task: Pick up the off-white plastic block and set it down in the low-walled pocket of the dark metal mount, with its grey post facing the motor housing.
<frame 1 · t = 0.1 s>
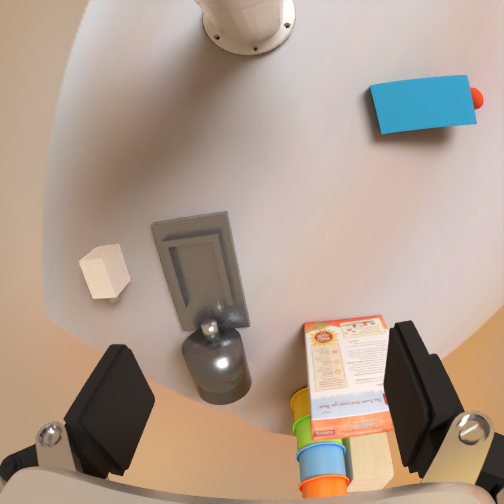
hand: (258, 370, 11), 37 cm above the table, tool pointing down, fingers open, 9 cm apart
stacking cups: (314, 399, 62), on the table
toy refrigerator: (355, 403, 62), on the table
cracker box: (343, 330, 54), on the table
blue ramp: (427, 102, 38), on the table
block: (113, 263, 52), on the table
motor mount: (200, 264, 51), on the table
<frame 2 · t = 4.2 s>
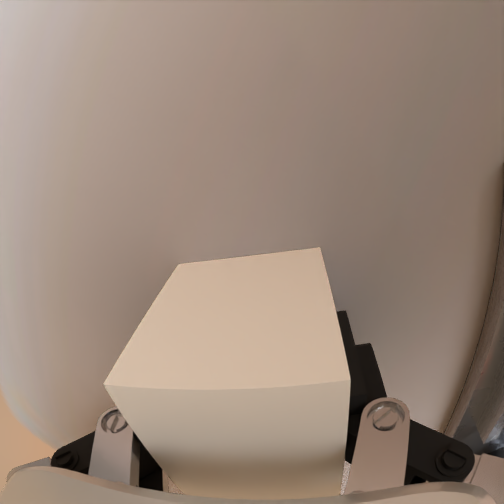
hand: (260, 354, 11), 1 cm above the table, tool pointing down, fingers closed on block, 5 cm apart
block: (262, 336, 12), on the table, touching gripper
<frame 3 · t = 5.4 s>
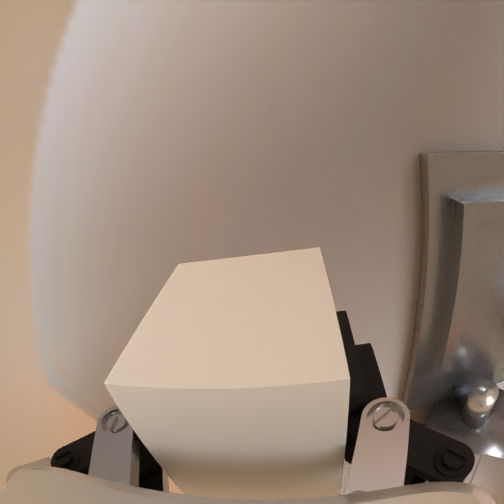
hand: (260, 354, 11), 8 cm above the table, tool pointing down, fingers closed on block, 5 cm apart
block: (262, 336, 12), point 7 cm above the table, touching gripper
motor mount: (490, 267, 18), on the table
when the fingers open (4 cm above the table, at t = 10.1 s): block drops 2 cm, resting on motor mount.
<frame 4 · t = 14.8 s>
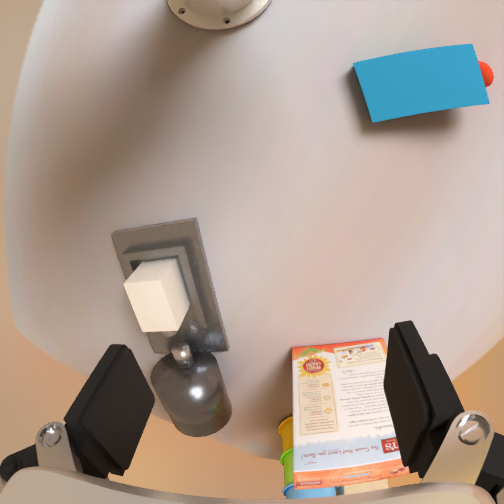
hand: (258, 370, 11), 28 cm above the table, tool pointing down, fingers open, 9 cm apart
stacking cups: (305, 425, 53), on the table
toy refrigerator: (351, 429, 53), on the table
cracker box: (337, 355, 46), on the table
blue ramp: (427, 81, 30), on the table
block: (166, 283, 42), point 1 cm above the table, touching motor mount
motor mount: (168, 280, 43), on the table
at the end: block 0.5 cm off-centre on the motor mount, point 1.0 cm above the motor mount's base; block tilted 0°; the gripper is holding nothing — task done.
